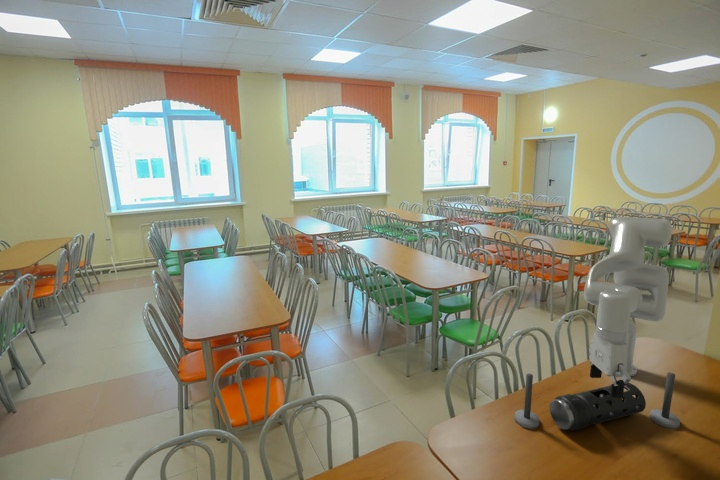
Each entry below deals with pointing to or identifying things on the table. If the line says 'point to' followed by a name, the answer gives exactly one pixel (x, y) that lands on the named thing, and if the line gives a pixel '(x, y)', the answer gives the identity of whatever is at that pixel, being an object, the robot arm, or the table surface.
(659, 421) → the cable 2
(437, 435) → the table surface
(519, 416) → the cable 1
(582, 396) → the muzzle brake
